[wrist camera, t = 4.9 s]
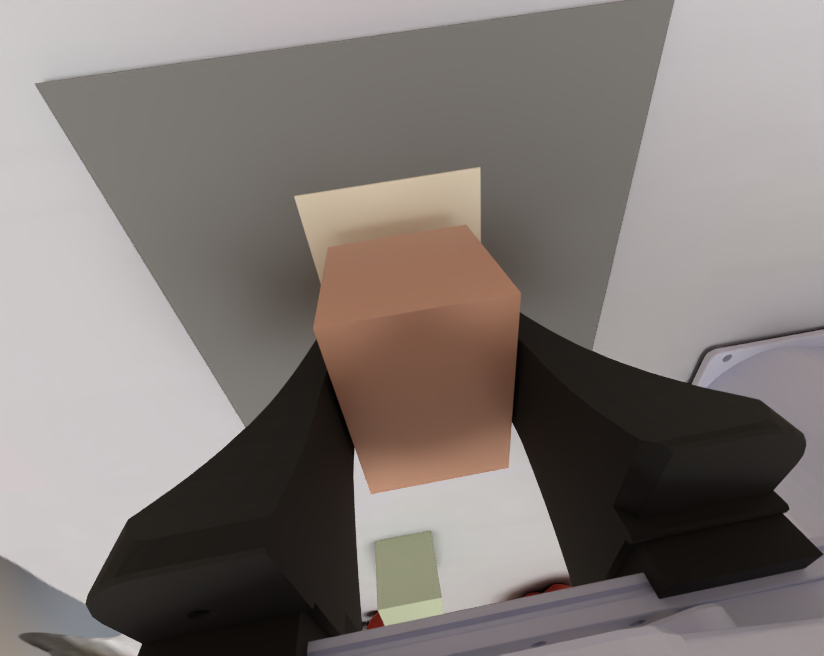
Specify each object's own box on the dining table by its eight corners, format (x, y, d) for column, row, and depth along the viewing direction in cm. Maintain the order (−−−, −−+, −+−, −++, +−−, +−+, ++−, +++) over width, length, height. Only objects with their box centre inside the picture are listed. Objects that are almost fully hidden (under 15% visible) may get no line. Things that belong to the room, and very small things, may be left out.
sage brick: (430, 529, 27) (441, 597, 24) (435, 563, 31) (445, 627, 27) (375, 539, 27) (377, 610, 23) (386, 572, 31) (390, 638, 27)
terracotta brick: (466, 224, 11) (521, 292, 7) (470, 372, 15) (508, 467, 11) (327, 247, 11) (312, 328, 7) (367, 391, 14) (371, 494, 11)
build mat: (665, -3, 10) (678, -8, 10) (579, 382, 20) (584, 389, 19) (45, 83, 10) (31, 83, 9) (259, 441, 19) (257, 449, 18)
